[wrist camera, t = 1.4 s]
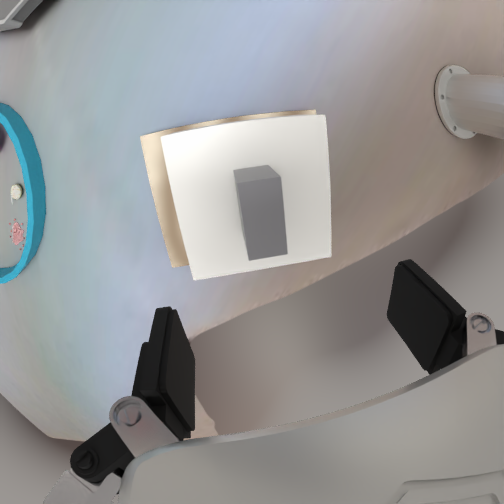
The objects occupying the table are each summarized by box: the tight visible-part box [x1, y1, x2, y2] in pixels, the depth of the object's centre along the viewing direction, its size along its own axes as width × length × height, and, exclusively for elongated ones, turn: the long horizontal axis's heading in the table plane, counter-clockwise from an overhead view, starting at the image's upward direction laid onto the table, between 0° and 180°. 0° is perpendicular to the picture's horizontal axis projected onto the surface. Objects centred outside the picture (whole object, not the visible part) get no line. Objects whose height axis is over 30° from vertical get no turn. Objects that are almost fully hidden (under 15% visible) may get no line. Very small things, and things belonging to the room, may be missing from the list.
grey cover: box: [161, 115, 331, 280], centre depth 25 cm, size 14×14×13 cm
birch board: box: [140, 110, 316, 268], centre depth 33 cm, size 20×17×2 cm
